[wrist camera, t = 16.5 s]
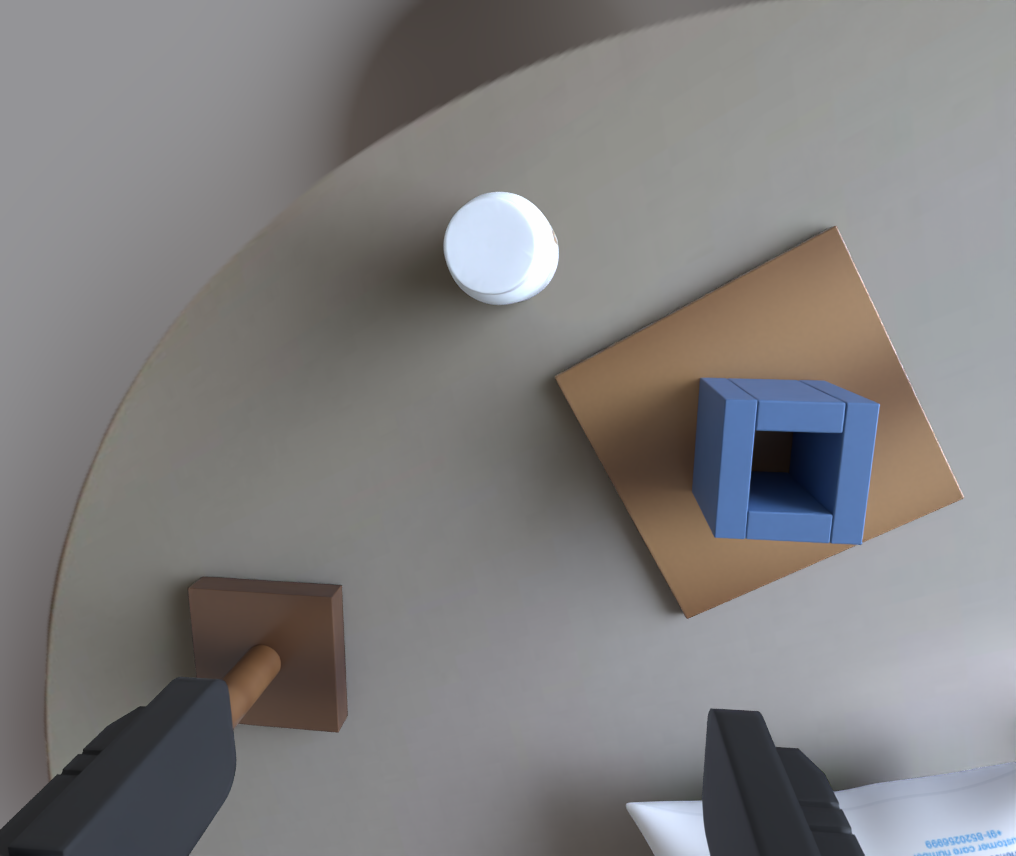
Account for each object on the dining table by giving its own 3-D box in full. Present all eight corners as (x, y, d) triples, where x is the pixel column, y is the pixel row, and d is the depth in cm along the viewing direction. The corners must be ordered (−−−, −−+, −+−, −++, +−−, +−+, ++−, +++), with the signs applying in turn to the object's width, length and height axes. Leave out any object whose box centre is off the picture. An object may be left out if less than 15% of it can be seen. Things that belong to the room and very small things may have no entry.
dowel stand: (202, 575, 37) (85, 665, 29) (342, 584, 37) (264, 680, 28) (214, 704, 39) (107, 826, 30) (348, 715, 38) (276, 844, 30)
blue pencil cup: (699, 377, 31) (724, 399, 26) (825, 380, 31) (881, 403, 25) (691, 492, 33) (714, 538, 27) (812, 497, 32) (862, 545, 26)
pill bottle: (569, 218, 31) (564, 198, 24) (545, 311, 32) (532, 321, 25) (478, 195, 31) (444, 167, 24) (457, 288, 32) (417, 290, 25)
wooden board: (554, 375, 33) (554, 377, 32) (832, 225, 30) (836, 225, 29) (685, 614, 35) (687, 619, 34) (958, 494, 32) (965, 498, 31)
